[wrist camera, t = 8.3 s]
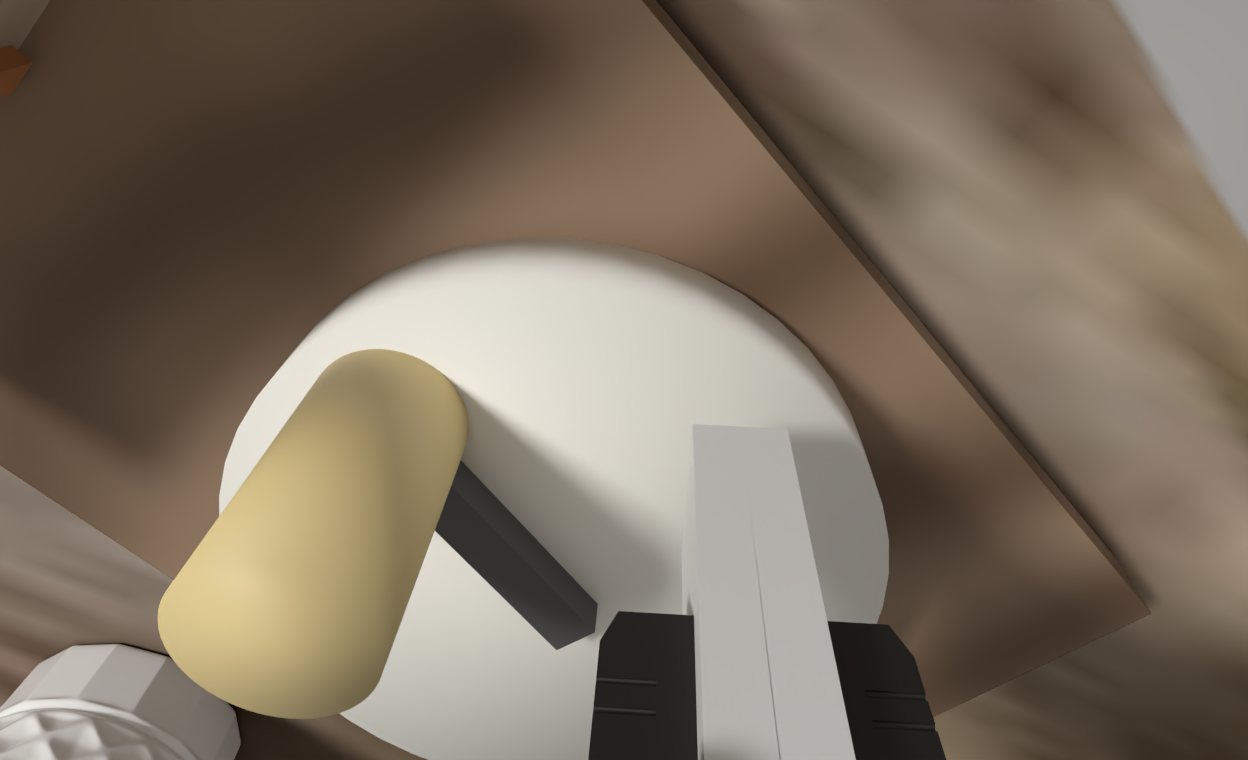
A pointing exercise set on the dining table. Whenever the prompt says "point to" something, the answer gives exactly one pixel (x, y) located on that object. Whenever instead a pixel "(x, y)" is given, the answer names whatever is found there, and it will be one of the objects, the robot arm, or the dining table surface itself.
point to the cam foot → (496, 493)
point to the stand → (442, 220)
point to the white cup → (115, 710)
